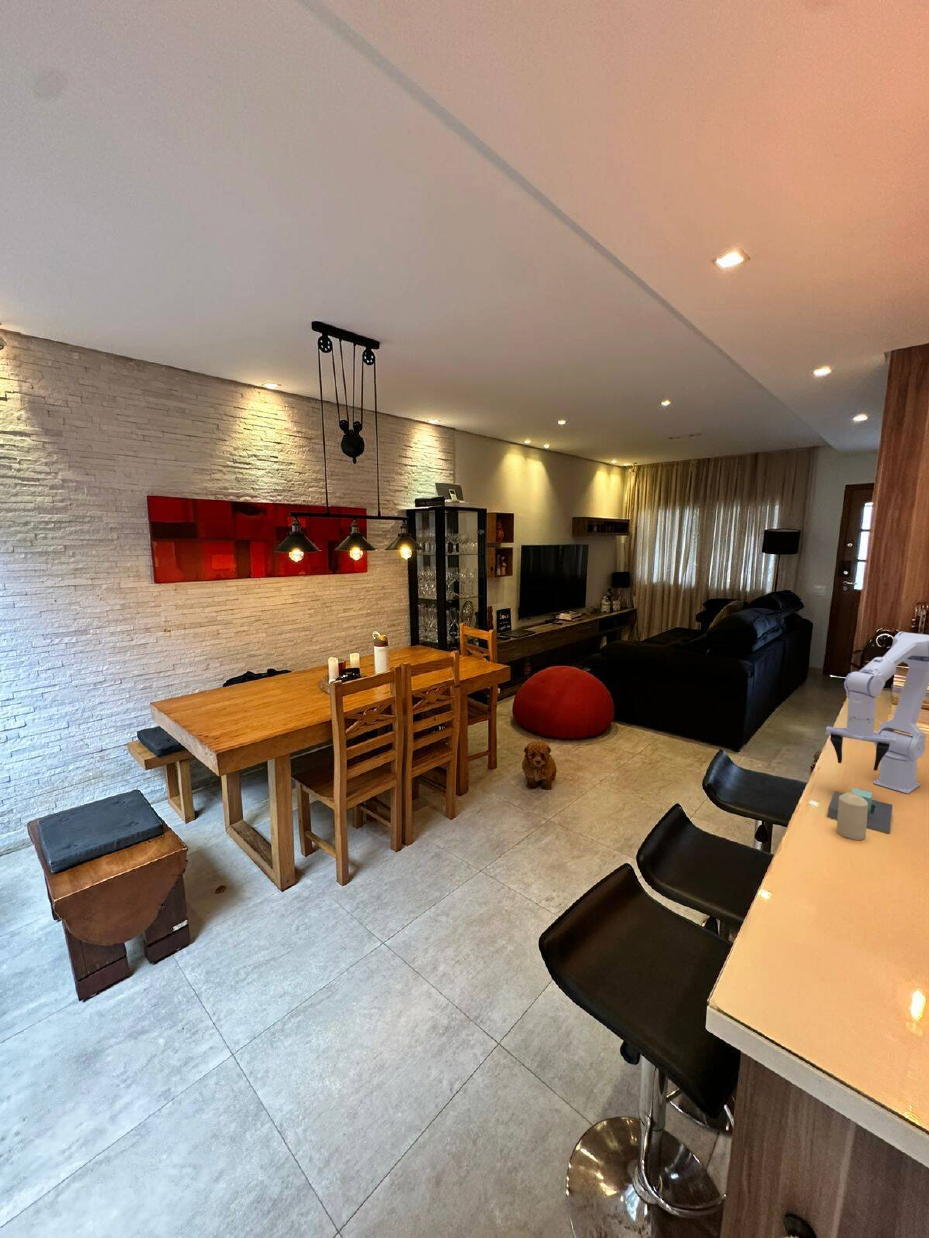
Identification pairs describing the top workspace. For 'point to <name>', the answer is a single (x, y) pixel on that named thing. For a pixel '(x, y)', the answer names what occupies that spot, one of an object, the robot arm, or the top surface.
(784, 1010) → the top surface
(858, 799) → the candle
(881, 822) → the square hole plate
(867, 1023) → the top surface
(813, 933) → the top surface
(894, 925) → the top surface
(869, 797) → the peg block
